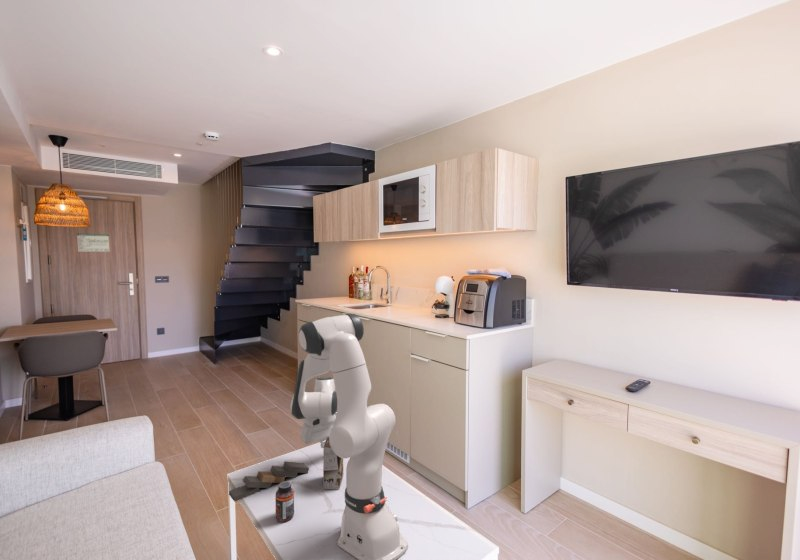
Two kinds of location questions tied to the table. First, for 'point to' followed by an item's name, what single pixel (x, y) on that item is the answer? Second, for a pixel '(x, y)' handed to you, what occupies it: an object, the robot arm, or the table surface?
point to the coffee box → (331, 468)
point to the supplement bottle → (284, 502)
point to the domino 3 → (269, 477)
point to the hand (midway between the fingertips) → (324, 446)
